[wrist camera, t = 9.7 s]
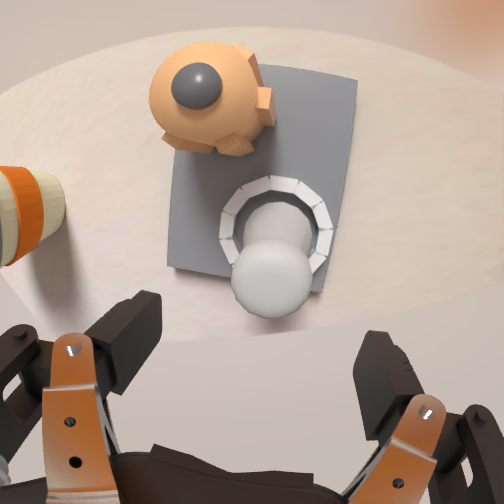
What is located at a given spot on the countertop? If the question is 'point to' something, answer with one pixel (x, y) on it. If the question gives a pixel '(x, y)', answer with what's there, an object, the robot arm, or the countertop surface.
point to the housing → (249, 150)
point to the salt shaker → (274, 262)
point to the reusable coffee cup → (27, 210)
